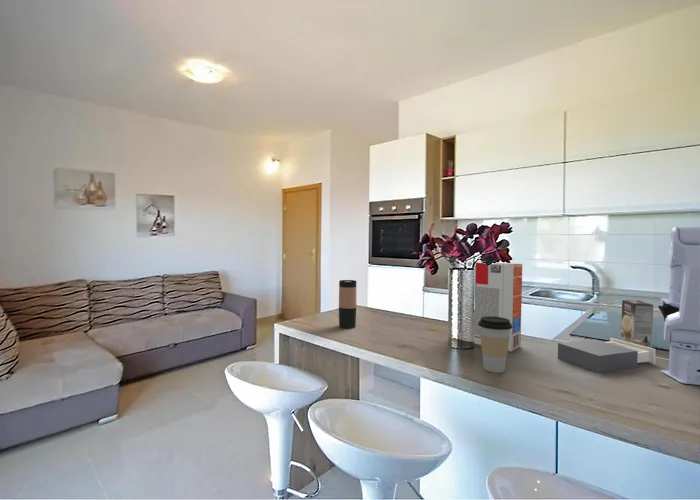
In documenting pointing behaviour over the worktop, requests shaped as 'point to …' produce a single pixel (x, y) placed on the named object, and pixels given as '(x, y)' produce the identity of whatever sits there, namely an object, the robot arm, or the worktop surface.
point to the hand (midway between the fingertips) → (679, 331)
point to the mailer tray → (637, 349)
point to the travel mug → (347, 304)
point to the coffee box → (637, 322)
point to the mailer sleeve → (597, 355)
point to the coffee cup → (494, 342)
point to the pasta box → (498, 297)
